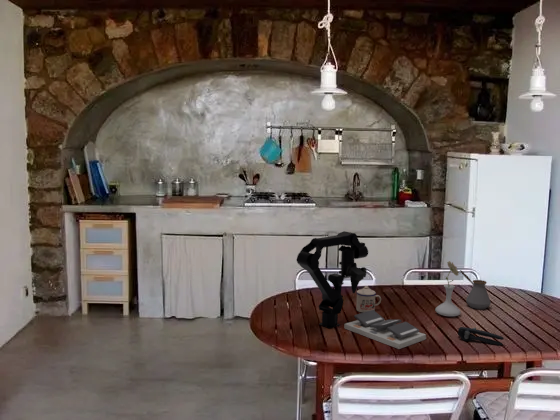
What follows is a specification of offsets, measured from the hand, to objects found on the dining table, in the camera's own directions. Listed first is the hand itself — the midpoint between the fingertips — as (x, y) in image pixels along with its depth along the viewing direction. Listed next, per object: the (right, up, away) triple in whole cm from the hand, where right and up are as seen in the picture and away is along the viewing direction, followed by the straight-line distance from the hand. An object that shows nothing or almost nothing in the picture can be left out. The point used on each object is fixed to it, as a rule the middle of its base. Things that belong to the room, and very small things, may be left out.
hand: (346, 294), depth 241 cm
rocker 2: (+15, -10, -14) cm, 23 cm away
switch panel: (+15, -14, -13) cm, 24 cm away
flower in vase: (+49, -12, +14) cm, 52 cm away
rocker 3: (+20, -11, -21) cm, 31 cm away
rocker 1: (+9, -9, -7) cm, 15 cm away
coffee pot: (+66, -10, +31) cm, 74 cm away
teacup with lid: (+12, -10, +17) cm, 24 cm away
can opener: (+52, -16, -20) cm, 58 cm away
